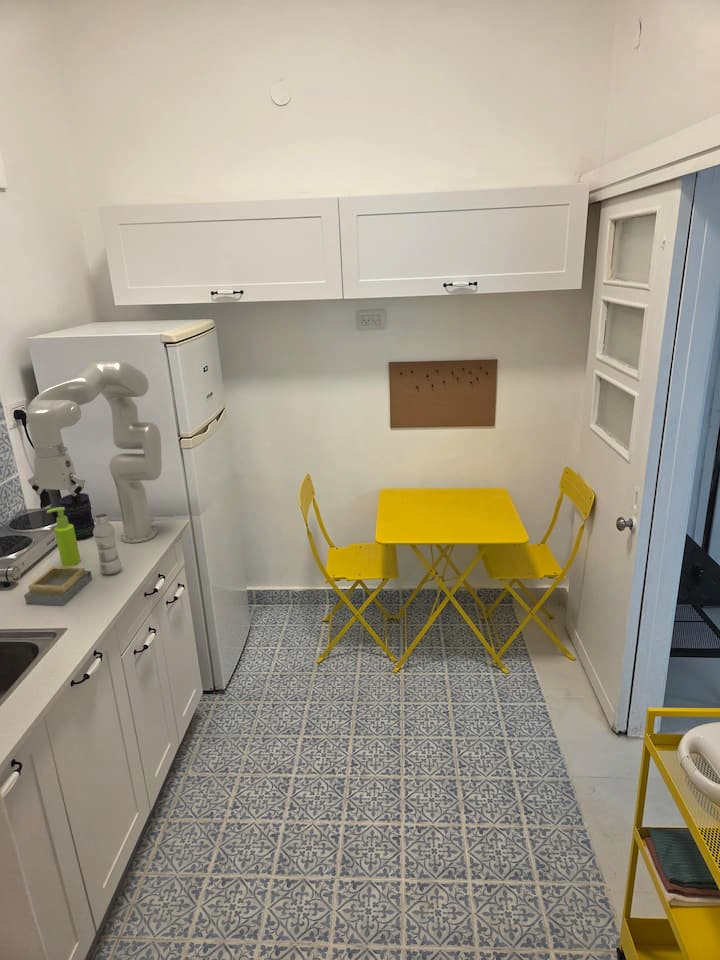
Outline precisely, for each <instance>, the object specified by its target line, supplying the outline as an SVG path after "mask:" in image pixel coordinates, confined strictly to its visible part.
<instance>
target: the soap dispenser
mask: <svg viewBox="0 0 720 960" xmlns="http://www.w3.org/2000/svg"><path fill="white" fill-rule="evenodd" d="M64 510H65V508H64V507H61V506H59V507H53V508H49V509H47V510H46V514H51V513H56V512H57V517H56V518H55V519H56V524H57V526H55V527H54V528H53V530H54V536H55V540H56V545H57V548H58V549H57V550H58V552H59V557H60V562H61V566H62V567H67V568H70V567H74V566H76V565H78V564H80V563H81V555H80V551H79V545H78V541H77V540H76V535H75V531H74V526H73V525H72V524H69V522H68V518H67V516H65V515H64V513H63V511H64Z"/></svg>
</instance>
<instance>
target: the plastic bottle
mask: <svg viewBox="0 0 720 960" xmlns="http://www.w3.org/2000/svg"><path fill="white" fill-rule="evenodd" d="M94 524H95V527H94V529H93V535H94V536H93V538H94V541H95V543H96V546H97V550H98V556H99V557H98V558H99V568H100V571H101V573H103V574H104V575H113V574H117V573H119V572H120V571H121V570H122V561H121V558H120V556H119V553H118V549H117V546H116V545H117V544H116V530H115V528H114V526H113V524H112V523H110V522H109V518H108V514H107V513H99V514H96V515H95V516H94Z"/></svg>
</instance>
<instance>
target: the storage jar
mask: <svg viewBox="0 0 720 960" xmlns="http://www.w3.org/2000/svg"><path fill="white" fill-rule="evenodd" d="M79 494H80V498H81V506H79V507H78V508H76V509H74V508H73V506H72V501H71V496H72V494H71V493H70V494H68V495H65V496H62V497H61V498H60V499H59V502H60V507H64V508H65V510H64V511H63V513H64V515H65V516H67V518H68V522H69V524H72V525H73V526H74V531H75V535H76V540H77V542H80V541H86V540H89V539H91V538H94V535H93V529H94V527H95V525H96V523H95V519H94V518H93V514H92V506H91V505H92V504H91V501H90V496H89V494H88V493H84V492H83V493H82V492H80V493H79Z"/></svg>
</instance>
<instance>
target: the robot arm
mask: <svg viewBox="0 0 720 960" xmlns="http://www.w3.org/2000/svg"><path fill="white" fill-rule="evenodd" d="M149 388H150V386H149V380H148V378H147V376H146V374H144V373H143V372H142V371H141V370H139V369H138V368H136V367H135V366H133V365H132V364H130V363H127V362H126V361H122V360H94V361H91V362H90V363H88V364H87V365H86V366H85V367H84V368H82V369H81V370H80V371H79V372H78V373H77V374H76V375H74V377H73V378H72V379H69V380H67V381H64V382H61V383H59V384H57V385H54V386H51V387H49V388H47V389H44V390H43V391H41V392H40V393H39V394H37V395H36V396H35V397H34V398H33V399H32V400H31V401H30V403H29V404H28V406H27V409H26V419H27V423H28V428H29V433H30V437H31V442H32V446H33V450H34V455H35V456H34V458H33V460H34V461H33V462H34V463H33V467H34V468H33V469H34V476H32V477H30V478H29V479H27V482H28V484H29V485H30V487H31V489H32V490H34V491H35V492H36V493H35V494H36V495H38V496H39V499H40V500H39V501H40V504H41V507H42V508H44V509H45V508H47V507H49V506H50V505H51V504H52V502H51V499H50V497H51V496H50V494H49V493H50V492H49V491H50V490H52V491H53V490H54V491H58V490H59V491H65V490H66V491H67V492H68V493H70V495H71V494H72V496H71V501H72V506H73V508H74V509H76V508H78V507H79V506H81V498H80V494H79V493H82V490H83V489H84V488H85V484H86V479H85V478H82V477H80V476H79V475H77V473H76V470H75V466H74V464H73V461H72V459H71V457H70V454H69V453H68V447H67V446H65V445H64V442H63V437H62V431H61V429H65V428H68V427H72V426H74V425H76V424H77V423H79V421H81V417H82V410H81V406H83V405H86V404H89V403H91V402H92V401H94V400H95V399H96V398H97V396H99V395H100V394H101V395H102V396H103V397H104V399H106V402H107V403H108V404H109V407H110V410H111V419H112V420H111V421H112V439H113V444H114V446H115V447H116V448H118V449H120V450H142V451H143V453H142V452H141V453H140V452H139V453H135V452H133V453H131V452H129V453H128V452H124V453H117V454H115V455H114V456H112V458H111V459H110V461H109V473H110V475H111V478H112V479H113V482H114V485H115V488H116V493H117V499H118V506H119V510H120V515H121V521H122V526H123V532H122V533H121V534H120V540H121V541H122V542H124V543H127V544H128V543H129V544H135V543H136V544H137V543H138V544H139V543H142V542H146V541H149V540H151V539H153V538H154V537H156V535H157V529H156V527H153V526H152V523H153V522H154V521H155V520H156V519H155V517H154V516H150V510H149V504H148V498H147V491H146V488H145V485H144V484H143V483H142V481H156V480H158V479H159V478H160V476H161V475H162V467H163V466H162V465H163V464H162V460H163V459H162V439H161V432H160V430H159V427H158V426H157V425H156V424H155V423H153V422H147V421H144V422H142V421H141V422H140V421H139V412H138V411H139V410H138V406H137V405H136V403H135V401H134V400H133V398H140V397H144V396H145V395H146V394H147V393H148V392H149ZM47 490H49V491H47Z"/></svg>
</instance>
